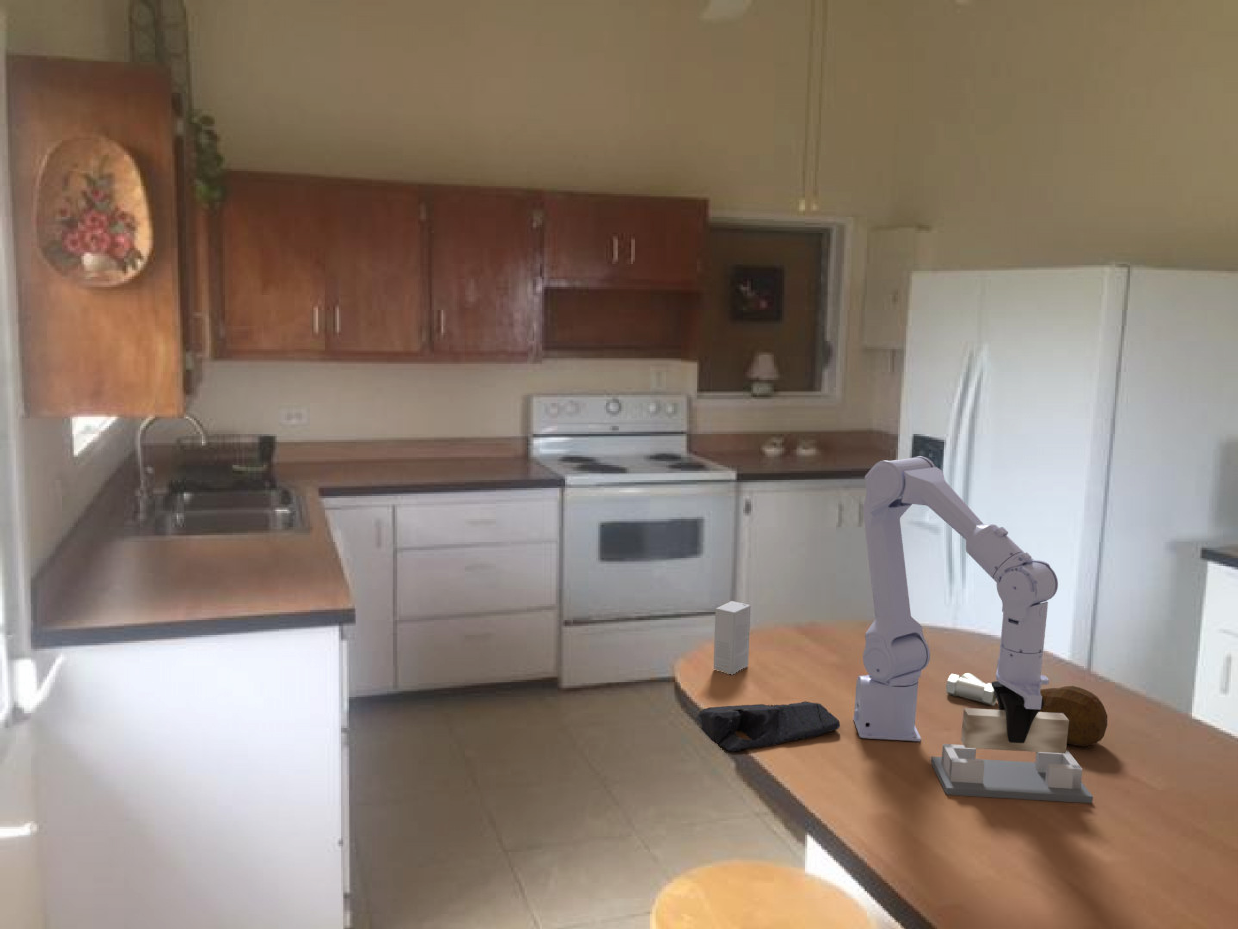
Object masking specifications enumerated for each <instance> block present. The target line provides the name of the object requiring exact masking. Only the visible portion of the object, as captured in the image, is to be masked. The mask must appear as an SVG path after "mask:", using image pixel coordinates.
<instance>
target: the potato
mask: <svg viewBox="0 0 1238 929" xmlns="http://www.w3.org/2000/svg"><path fill="white" fill-rule="evenodd" d="M1040 694H1041V696H1042V699H1043V701H1044V706H1043V708H1042V709H1041V710H1040V711H1039V712H1049V713H1063V714H1064V715H1065V716H1066V717H1067V718H1068V720H1069V726H1068V736H1067V744H1069V745H1074V746H1082V747H1083V746H1084V747H1086V746H1093V745H1095V744H1097V743H1099V742H1101V741H1102V739H1103V738H1104V736H1105V734H1106V730H1107V728H1108V727H1107V726H1108V714H1107V712H1106V708H1105V705H1104V704H1103V702H1102V701H1101V700H1100V697H1098V695H1095V693H1093V692H1092V691H1089V690H1087V689H1085V688H1083V687H1080V686H1079V687H1078V686H1075V685H1066V686H1063V687H1061V686H1060V687H1051V688H1044V689H1043V688H1041V691H1040Z"/></svg>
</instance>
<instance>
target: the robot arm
mask: <svg viewBox="0 0 1238 929" xmlns="http://www.w3.org/2000/svg"><path fill="white" fill-rule="evenodd" d="M864 482H865V491H866V492H865V493H866V494H865V498H864V501H863V506H862V508H863V509H862V513H863V514H862V515H863V520H864V521H863V522H864V531H865V539H866V546H867V548H866V549H867V557H868V564H869V575H870V583H871V591H872V592H871V593H872V599H873V609H874V610H873V611H874V618H875V619H874V621H873V622H872V624H871V625H870V626H869V628H868V629H867V631H866V632H865V634H864V639H865V647H864V649H863V653H862V662H863V666H864V669H865V670H866V672H867V673H868V674H866V675H858V676H857V678H856V683H855V696H854V712H853V718H852V719H853V721H854V724H855V727H856V730H857V733H858V736H859V738H861V739H874V740H890V741H908V742H909V741H910V742H921V741H922V737H921V735H920V733H919V731H918V729H917V726H916V715H917V714H916V713H917V705H918V704H917V700H918V689H919V678H922V677H921V676H922V671H923V670H925V669H926V668H927V667H928V665H929V664H930V661H931V660H930V659H931V650H930V647H929V644H928V643H927V641H926V639H925V637H924V636H925V635H924V631H923V626H922V625H921V624H920V623H919V621H917V620H916V619H914V618H913V617H912V614H911V606H910V605H911V604H910V596H909V587H908V578H907V571H906V570H907V569H906V563H905V553H904V545H903V544H904V543H903V535H902V529H901V518H902V516H903V515H904V514H905V513H906V512H907V510H908V509H909V508H910V507H911V506H912V505H918V506H926V507H928V508H929V509H930V510H931V511H932V512H934V513H935V514H936V515H937V516H938V517H939V518H940V519H942V520H943V521H944V522H945V523H947V525H948V526H950V527H951V528H952V529H953V530H954V531H955V532H956V533H958V534H959V535H960V537H962V538H963V539H964V540H965V551H966V553H967V554H968V556H970V557H971V559H973V560H974V562H975V563H977V565H979V567H981V568H982V570H984V571H985V573H986V574H988V575H989V577H990V578H991V579H992V580H993V581H994V582H996V591H997V594H998V596H999V598H1000V600H1001V603H1002V608H1001V612H1002V613H1003V614H1002V622H1001V633H1000V634H1001V635H1000V644H999V655H998V658H997V661H996V662H997V663H996V664H997V665H996V672H995V680H996V681H995V680H994V681H992V682H991V684H992V687H993V689H994V692H995V694H996V698H997V705H998V710H1005V712H1006V721H1007V736H1008V740H1009V742H1011V743H1024V742H1025V740H1026V737H1027V735H1028V732H1029V729H1030V727H1031V724H1032V722H1033V720H1034V718H1035V716H1036V715H1037V714H1038V712H1039V711H1040V710H1041V709H1042V708H1043V706H1044V701H1043V699H1042V696H1041V694H1040V691H1041V689H1042V686H1044V685H1047V686H1048V685H1049V684H1050V679H1049V678H1048V677H1047V676H1046V675H1044V674H1043V675H1042V666H1043V657H1044V646H1045V637H1046V627H1047V616H1048V609H1049V608H1048V607H1049V602H1048V601H1049V600H1051V599H1052V598H1054V596H1056V594H1057V591H1058V588H1059V587H1058V586H1059V580H1058V577H1057V575H1056V572H1055V571H1054V570H1053V568H1052V567H1051V565H1050V564H1049V563H1048V562H1045V561H1044V560H1043V561H1042V560H1040V559H1038V560H1037V559H1036V560H1035V559H1033V558H1032V556H1031V555H1030V554H1029V553H1028V552H1024V551H1023V549H1021V548H1020V546H1018V545H1017V544H1016V543H1015V542H1014V541H1013V540H1012V539H1011V538H1010V537H1009V536H1008V534H1009V531H1007V530H1006V528H1004V527H999V526H998V525H996V524H985V523H983V522H982V521H981V519H980V518H979V517H978V516H977V515H976V514H975V513H974V511H972V509H971V508H970V507H969V506H968V505H967V504H966V503H965V502H964V500H963V499H962V498H961V497H960V496H959V495H958V494H957V492H956V491H955V490H954V489H953V488H952V487H951V486H950V484H949V483H948V482H947V481H946V479H945V475H944V472H943V471H942V470H941V469H940V468H938V466H936V465H935V464H934V462H933V461H932V460H931V459H930V458H927V457H926V456H921V455H918V456H914V457H909V458H902V459H894V460H880V461H878V462H876V463H875V464H874V465H873V466H872V467H871V469H869V471H868V472H866V474H865V476H864Z"/></svg>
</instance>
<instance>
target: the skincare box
mask: <svg viewBox="0 0 1238 929" xmlns="http://www.w3.org/2000/svg"><path fill="white" fill-rule="evenodd" d="M714 610H715V617H714V618H715V619H714V620H715V621H714V643H713V644H714V646H713V648H714V649H713V670H714V669H716V670H719V671H723V672H725V673H728V674H727V675H729V674H731V675H730V676H733V674H734V675H735V674H737V673H739V672H740V671H742V670H744V669H745V668H747V667H748V666H749V654H750V653H749V652H750V627H751V604H746V603H743V602H738V601H734V600H730V601H729V602H727V603H724V604H723V605H720V606H718V607H716V608H715V609H714ZM743 668H744V669H743ZM741 669H742V670H741ZM739 670H740V671H739ZM738 671H739V672H738ZM736 672H737V673H736ZM725 673H724V674H725Z"/></svg>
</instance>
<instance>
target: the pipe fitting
mask: <svg viewBox="0 0 1238 929" xmlns="http://www.w3.org/2000/svg"><path fill="white" fill-rule="evenodd" d="M945 691H946V694H948V695H951V696H953V697H961V698H964V699H968V700H971V701H976V702H979V703H982V704H984V705H987V706H991V707H994V706H995V705H996V704H997V703H998V701H997V698H996V694H995V692H994V689H993V687H992V682H991V683H990V682H988V683H986V682H984V681H983V680H981V679H980V678H978V677H977V676H976V675H974V674H972V673H970V672H967V673H964V674H962V675H959V674H955V673H951V674H949V676H948V678H947V681H946V685H945Z"/></svg>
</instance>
